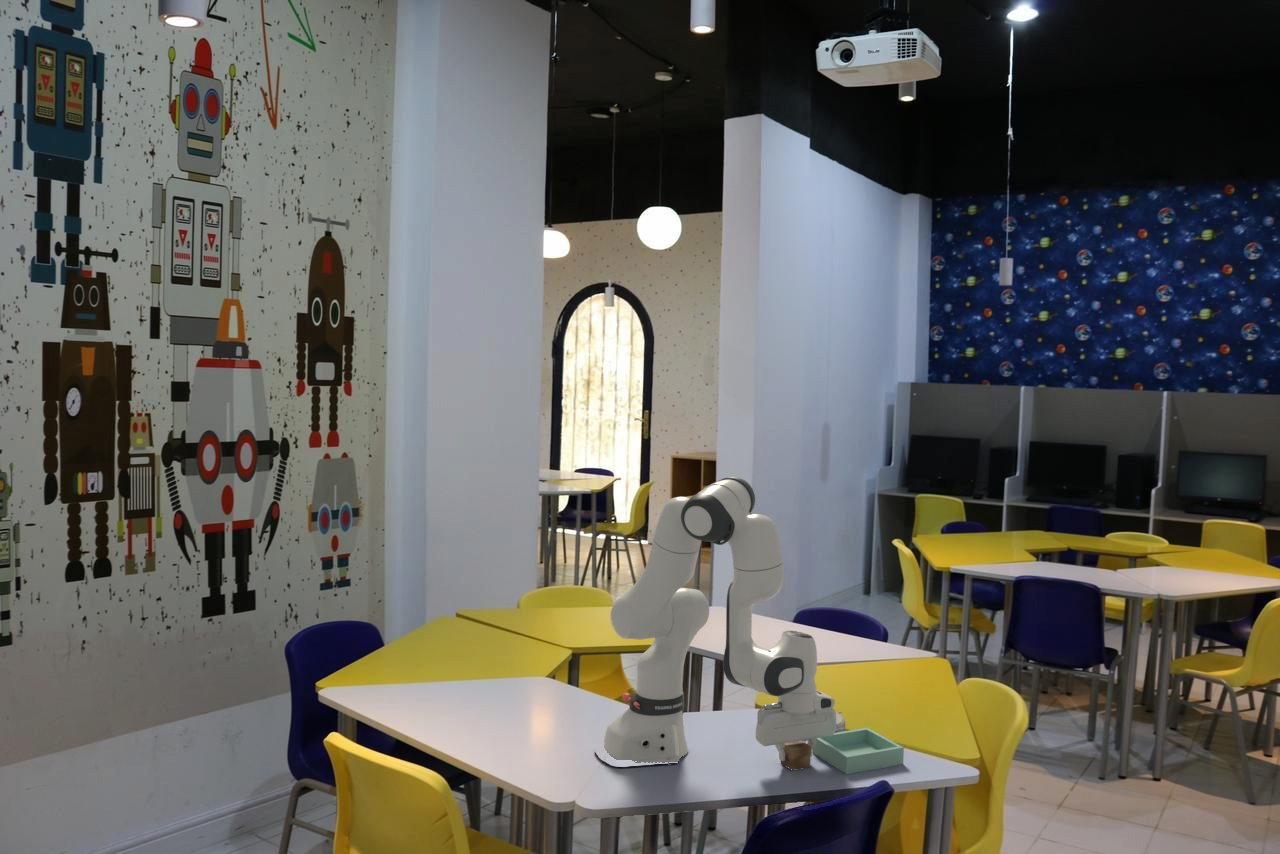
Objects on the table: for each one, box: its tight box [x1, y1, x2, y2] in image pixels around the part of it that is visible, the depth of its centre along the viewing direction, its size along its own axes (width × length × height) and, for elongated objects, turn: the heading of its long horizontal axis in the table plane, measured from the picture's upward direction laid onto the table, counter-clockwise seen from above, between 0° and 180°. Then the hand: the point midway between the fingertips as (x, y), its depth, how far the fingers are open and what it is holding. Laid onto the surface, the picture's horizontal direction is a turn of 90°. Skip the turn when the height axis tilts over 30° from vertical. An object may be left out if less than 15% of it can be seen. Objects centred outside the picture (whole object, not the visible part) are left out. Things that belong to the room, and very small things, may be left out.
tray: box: [812, 727, 905, 775], centre depth 241 cm, size 16×14×4 cm
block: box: [779, 740, 812, 771], centre depth 237 cm, size 5×5×5 cm
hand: (795, 758), depth 237 cm, fingers closed on block, 5 cm apart
